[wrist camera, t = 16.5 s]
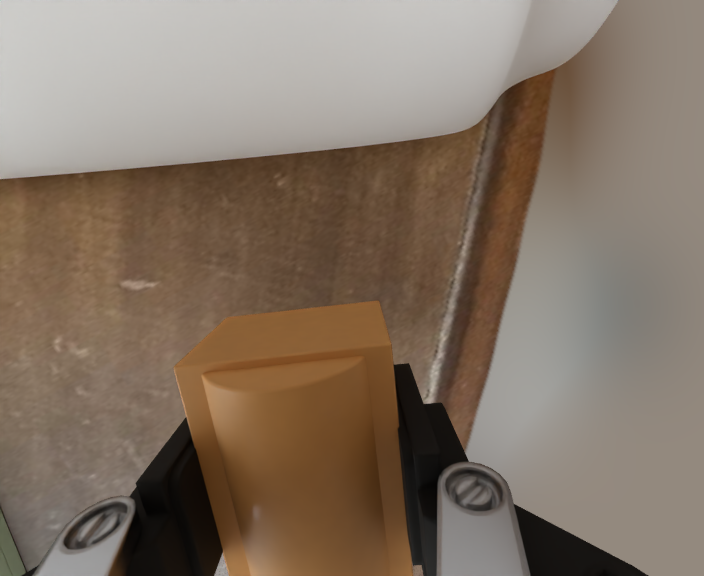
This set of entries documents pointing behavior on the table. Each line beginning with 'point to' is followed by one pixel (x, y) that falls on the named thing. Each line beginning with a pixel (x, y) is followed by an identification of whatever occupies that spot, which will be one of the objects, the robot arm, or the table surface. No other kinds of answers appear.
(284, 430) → the bread
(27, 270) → the table surface
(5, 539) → the pale green open box
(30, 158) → the vase
